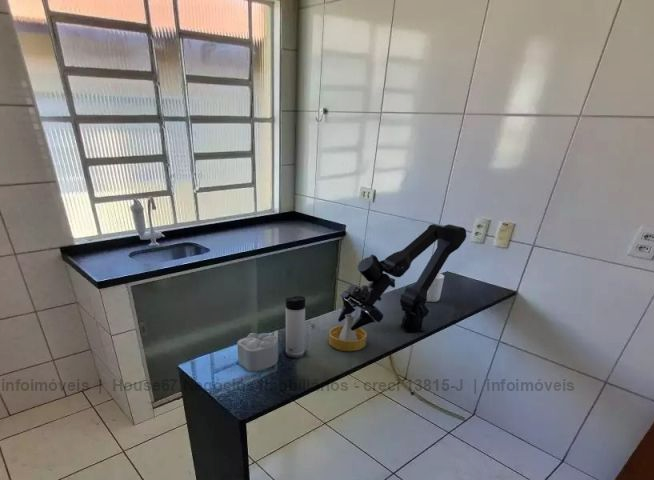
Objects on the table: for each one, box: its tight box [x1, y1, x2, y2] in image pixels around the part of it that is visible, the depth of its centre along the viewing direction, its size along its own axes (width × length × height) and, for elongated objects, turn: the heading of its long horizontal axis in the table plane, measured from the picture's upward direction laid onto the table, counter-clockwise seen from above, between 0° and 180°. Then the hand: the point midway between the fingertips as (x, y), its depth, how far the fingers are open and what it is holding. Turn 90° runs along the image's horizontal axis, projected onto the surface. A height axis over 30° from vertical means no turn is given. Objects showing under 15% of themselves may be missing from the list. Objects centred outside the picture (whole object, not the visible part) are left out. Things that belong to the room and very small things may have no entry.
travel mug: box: [285, 295, 306, 359], centre depth 132 cm, size 6×7×20 cm
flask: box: [338, 313, 357, 341], centre depth 141 cm, size 7×7×10 cm
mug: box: [426, 272, 445, 303], centre depth 179 cm, size 9×12×11 cm
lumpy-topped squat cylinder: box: [236, 332, 279, 372], centre depth 131 cm, size 10×13×9 cm
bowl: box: [328, 325, 368, 352], centre depth 142 cm, size 13×13×4 cm
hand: (345, 325), depth 139 cm, fingers open, 8 cm apart
